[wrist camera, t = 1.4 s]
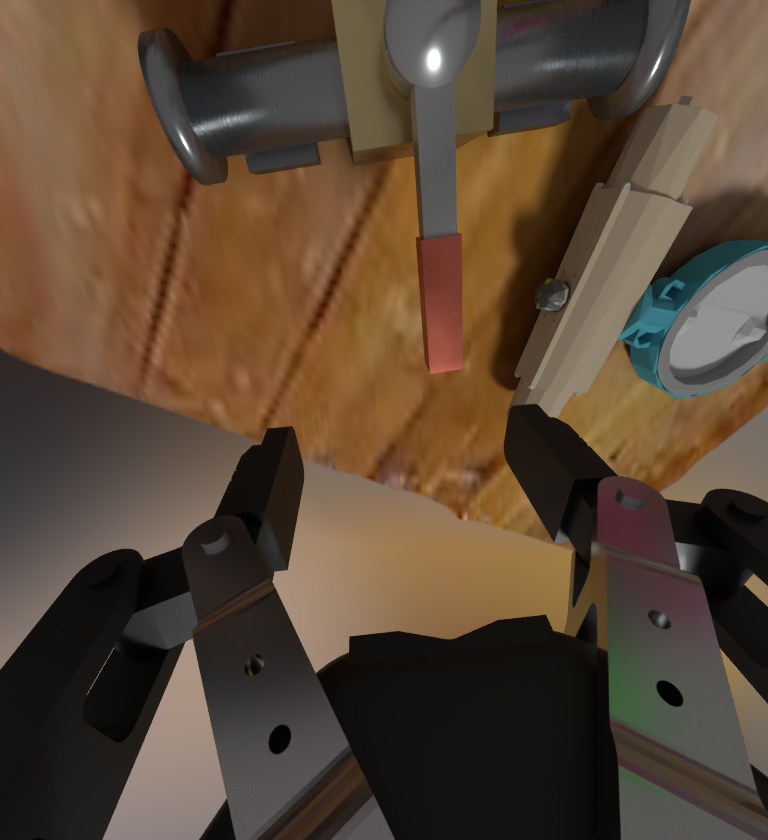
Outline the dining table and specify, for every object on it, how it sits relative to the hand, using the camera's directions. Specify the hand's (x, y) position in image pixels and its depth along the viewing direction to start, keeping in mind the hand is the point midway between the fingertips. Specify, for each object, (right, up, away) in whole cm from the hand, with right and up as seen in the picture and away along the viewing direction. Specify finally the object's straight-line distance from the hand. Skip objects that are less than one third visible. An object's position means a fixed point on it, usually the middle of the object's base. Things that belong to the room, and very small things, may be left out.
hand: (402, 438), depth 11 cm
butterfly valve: (+27, +12, +24) cm, 38 cm away
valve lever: (+2, +12, +8) cm, 15 cm away
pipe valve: (+1, +24, +13) cm, 27 cm away
